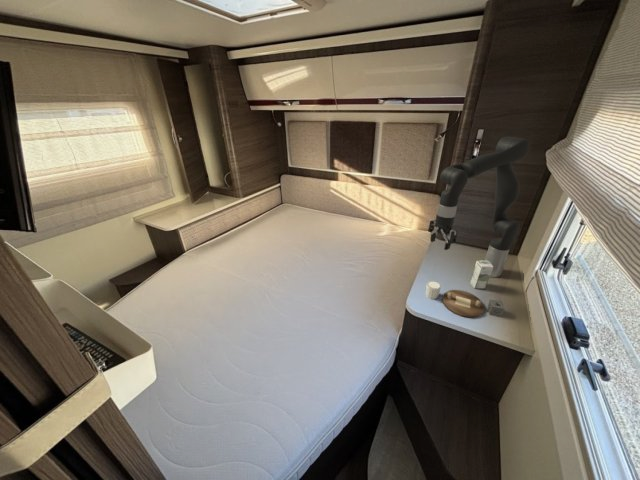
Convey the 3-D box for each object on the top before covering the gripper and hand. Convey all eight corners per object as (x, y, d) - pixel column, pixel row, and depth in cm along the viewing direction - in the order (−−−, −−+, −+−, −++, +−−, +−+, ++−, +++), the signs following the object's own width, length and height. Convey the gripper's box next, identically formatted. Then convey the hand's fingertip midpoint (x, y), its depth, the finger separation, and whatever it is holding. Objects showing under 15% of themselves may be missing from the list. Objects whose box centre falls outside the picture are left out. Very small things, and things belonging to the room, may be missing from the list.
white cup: (437, 301, 130) (440, 290, 127) (422, 297, 133) (425, 286, 130) (439, 294, 135) (442, 283, 132) (426, 289, 138) (428, 278, 135)
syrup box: (480, 282, 143) (487, 259, 136) (485, 289, 137) (493, 266, 130) (469, 282, 143) (476, 259, 136) (474, 289, 138) (481, 266, 131)
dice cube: (489, 314, 122) (492, 306, 119) (487, 307, 126) (489, 299, 124) (501, 317, 120) (504, 308, 118) (498, 309, 125) (502, 301, 122)
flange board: (444, 288, 139) (445, 282, 137) (483, 298, 131) (485, 292, 129) (440, 310, 125) (441, 303, 123) (483, 322, 117) (485, 316, 116)
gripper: (465, 217, 112) (457, 250, 120) (440, 206, 123) (434, 237, 131) (452, 221, 109) (444, 254, 117) (427, 209, 121) (422, 240, 129)
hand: (439, 245), depth 124 cm, fingers open, 8 cm apart
